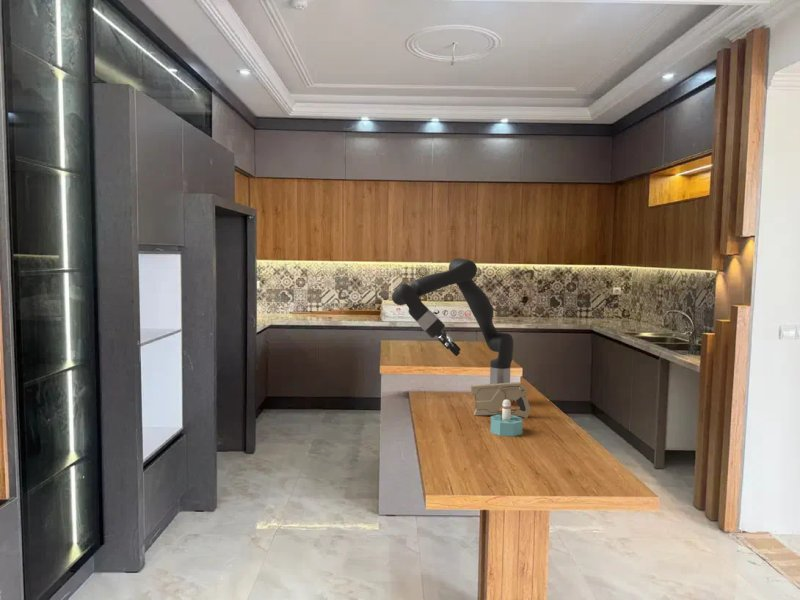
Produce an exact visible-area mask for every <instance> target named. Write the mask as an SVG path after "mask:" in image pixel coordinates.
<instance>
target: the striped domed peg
mask: <svg viewBox="0 0 800 600" xmlns="http://www.w3.org/2000/svg"><path fill="white" fill-rule="evenodd" d="M501 408H502V409H501V411H502V420H505V421H510V419H511V415H512V414H511V412H512V411H511V410H512V402H511V400H510V401H509V400H508V399H506V400H504V401H503V405H502V406H501Z"/></svg>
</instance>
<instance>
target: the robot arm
mask: <svg viewBox="0 0 800 600" xmlns="http://www.w3.org/2000/svg"><path fill="white" fill-rule="evenodd" d="M477 271H478V268H477V264H476V262H475V261H472V260H470V259H466V258H461V257H459V258H454V259H453V258H452V260H450V263H449V264H448V270H447V271H443V272H437V273H432V274H428V275H425V276H422V277H420V278H417V279H415V280H413V282H411V283H410V284H408V283H400V284H399V285H398V286H397V287H396V288H395V290H394V291H393V292H392V294H391V300H392V302H393V303H394V304H395V305H397V306H405V305H406V306H407V307H408V314H409V315H410V317H412V319H413V320H414V321H415V322H416V323H417V324H418V325H419V326H420V328H421V329H422V330H423V331H424V332H425V333H426V335H428V336H429V338H431V339H433V338H435V337H437V340H438V341H439V342H440V344H442V345H443V347H445V348H446V350H449V351H450V352H451V353H452V354H453V355H454V356H456V357H457V356H459V355H460V353H461V352H460V351H461V350H462V349H461V348H460V346H459V345H458V344H457V343H456V342H455V340H454V338H453V337H452V336H451V335H449V332H447V331H446V330H443V329H444V328H445V327H446V325H445V323H443V322H442V320H441V319H439V317H437V315H435V313H434V312H432V311H431V310H430V309H429V308H428V307H427V306H426V305H425V304H424V303H423V302H422V300H421V298H420V297H422V296H425V295H428V294H430V293H432V292H434V291H437V290H440V289H442V288H446V287H448V286H452V285H455V284H456V285H457V287H458V288H459V290H460V292H461V294H462V295H463V298H464V300H465V302H466V303H467V305H468V308H469V309H470V312H471V313H472V315H473V317H474V318H475V321H476V322H477V324H478V327H479V328H480V330H481V332H482V335H483V337H484V338H483V339H484V340H485V341H484V342H485V343H486V345H487V347H488V349H489V350H490V351H491V352H492V351H493V352H496V353H497V358H495V359H492V360H490V362H489V363H490V364H489V365H490V367H489V384H499V383H511V364H512V361H513V351H514V339H513V336H512V335H511V334H510V333H507V332H499V331H498V330H497V329H496V327H495V325H494V323H493V319H494V308H493V304H492V303H491V301H490V299H489V297H488V296H487V295H486V293H485V292H484V291H483V290H482V289H481V288H480V287H479V286H478V285H477V284H476V283H475V282H474V281H473V279H474V278H475V277H476V276H477V273H478V272H477ZM509 401H510V402H511V400H509Z"/></svg>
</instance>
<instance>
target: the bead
mask: <svg viewBox="0 0 800 600" xmlns="http://www.w3.org/2000/svg"><path fill="white" fill-rule="evenodd" d="M523 422H524V421H523V417H520V416H516V415H512V414H511V419H510V421H505V420H502V414H499V415H490V433H491V434H493V435H494V434H495V435H496V436H498V437H499V436H502V437H516V436H521V435H523V425H524V424H523Z"/></svg>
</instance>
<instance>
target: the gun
mask: <svg viewBox="0 0 800 600" xmlns="http://www.w3.org/2000/svg"><path fill="white" fill-rule="evenodd" d="M470 388H471V397H472V396H473V397H474V400H475V401H474V402H475V410H474V412H473V415H474V416H475V417H486V416H494V415H499V414H502V410H500V409H501V408H502V405H503V401H504V400H506V399H508V400H510V401H512V404H515V401H516V402H517V406H518V407H519V408H516V409H511V415H514V416H517V417H521V418H524V419H525V418H526V419H528V417H529V415H530V412H531V408H532V407H531V406H530V403H529V400H528V398H527V395H526V394H527V393H528V391H529V390H528V388H527V387H526V386H524V385H523V384H522V383H521V382H520V381H517V382H510V383H499V384H490V383H487V384H471V385H470ZM521 389H523V390H521Z"/></svg>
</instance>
